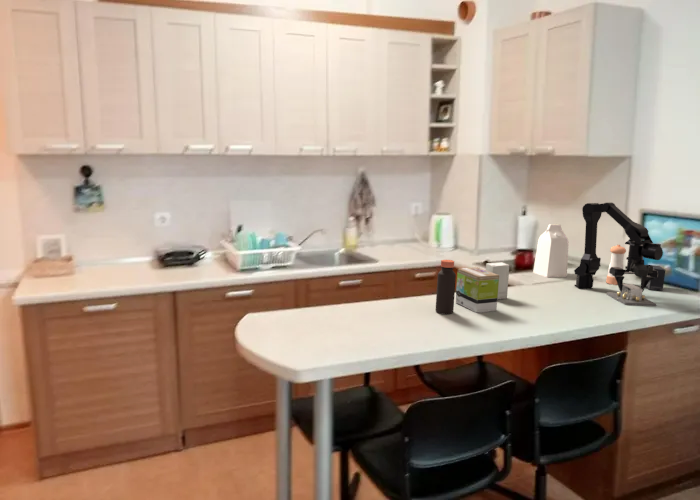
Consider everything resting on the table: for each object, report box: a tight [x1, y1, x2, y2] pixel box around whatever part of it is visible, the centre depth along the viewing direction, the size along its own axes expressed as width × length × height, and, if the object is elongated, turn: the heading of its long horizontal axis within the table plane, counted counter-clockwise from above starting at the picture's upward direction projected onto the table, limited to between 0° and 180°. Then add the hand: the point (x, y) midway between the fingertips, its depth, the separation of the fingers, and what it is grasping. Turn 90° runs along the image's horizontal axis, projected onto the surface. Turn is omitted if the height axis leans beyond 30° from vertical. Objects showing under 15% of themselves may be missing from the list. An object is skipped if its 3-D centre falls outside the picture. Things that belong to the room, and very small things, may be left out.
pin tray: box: [606, 291, 657, 307], centre depth 257 cm, size 13×18×3 cm
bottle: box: [435, 259, 457, 315], centre depth 226 cm, size 7×7×20 cm
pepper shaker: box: [605, 244, 627, 286], centre depth 289 cm, size 7×7×19 cm
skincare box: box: [485, 261, 510, 300], centre depth 251 cm, size 8×6×15 cm
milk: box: [532, 223, 569, 278], centre depth 304 cm, size 12×12×26 cm
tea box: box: [455, 266, 499, 313], centre depth 235 cm, size 15×10×15 cm
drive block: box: [620, 283, 644, 301], centre depth 257 cm, size 5×9×5 cm, turn 0°
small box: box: [645, 264, 666, 292], centre depth 282 cm, size 11×6×10 cm, turn 168°
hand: (631, 291), depth 257 cm, fingers open, 9 cm apart
